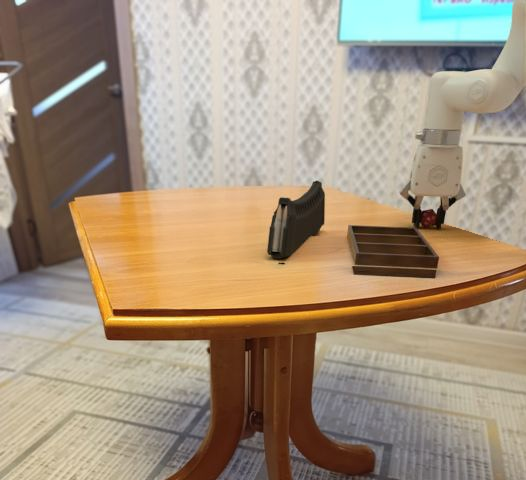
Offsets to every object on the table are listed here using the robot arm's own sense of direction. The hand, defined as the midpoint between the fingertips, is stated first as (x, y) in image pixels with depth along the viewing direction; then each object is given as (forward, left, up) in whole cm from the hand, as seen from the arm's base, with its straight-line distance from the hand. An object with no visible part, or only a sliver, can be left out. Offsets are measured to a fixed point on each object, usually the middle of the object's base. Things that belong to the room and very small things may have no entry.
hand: (427, 226), depth 114 cm
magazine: (+28, +21, -1) cm, 35 cm away
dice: (0, 0, 0) cm, 0 cm away
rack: (+12, +26, 0) cm, 29 cm away
